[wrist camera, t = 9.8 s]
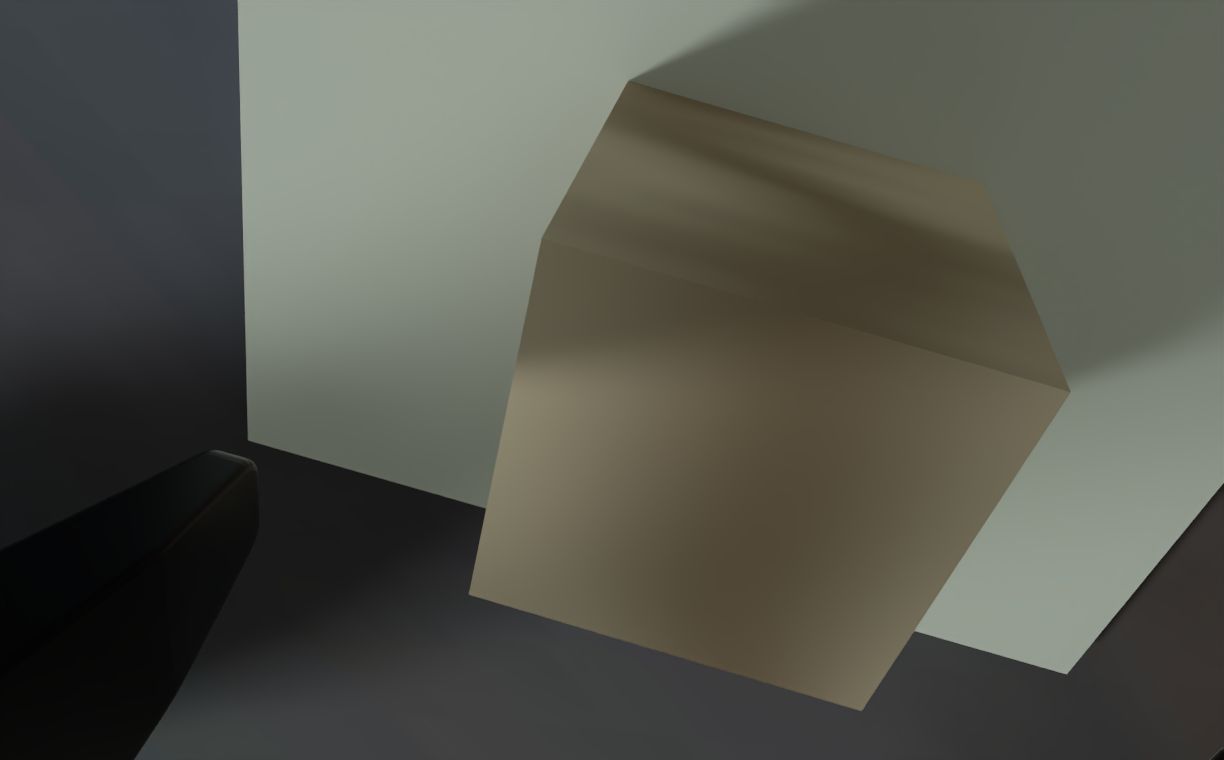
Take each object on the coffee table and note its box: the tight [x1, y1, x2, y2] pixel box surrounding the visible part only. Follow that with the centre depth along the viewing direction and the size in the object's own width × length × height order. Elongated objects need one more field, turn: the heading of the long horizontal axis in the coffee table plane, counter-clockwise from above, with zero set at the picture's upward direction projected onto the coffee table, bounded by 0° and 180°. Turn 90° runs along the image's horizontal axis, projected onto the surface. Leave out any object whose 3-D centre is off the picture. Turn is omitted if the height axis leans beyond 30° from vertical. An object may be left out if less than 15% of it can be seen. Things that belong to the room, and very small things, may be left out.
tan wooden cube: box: [469, 81, 1071, 711], centre depth 12 cm, size 5×5×5 cm
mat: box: [238, 0, 1224, 674], centre depth 14 cm, size 16×12×1 cm
